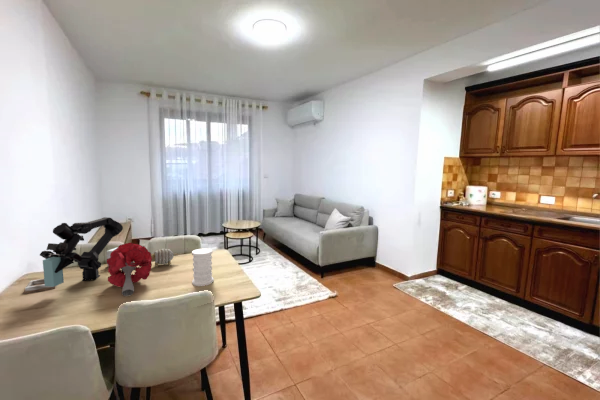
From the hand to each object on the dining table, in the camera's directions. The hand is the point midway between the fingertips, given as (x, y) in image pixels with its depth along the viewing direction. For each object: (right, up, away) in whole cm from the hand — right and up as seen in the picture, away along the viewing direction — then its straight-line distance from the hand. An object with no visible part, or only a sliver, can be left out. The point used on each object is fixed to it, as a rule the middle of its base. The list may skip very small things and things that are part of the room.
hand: (50, 272), depth 135 cm
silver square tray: (-15, -11, +12) cm, 22 cm away
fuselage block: (0, -6, +2) cm, 7 cm away
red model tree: (+29, -12, +14) cm, 35 cm away
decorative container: (+67, -11, +22) cm, 71 cm away
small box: (+1, -7, +46) cm, 47 cm away
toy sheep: (+32, -8, +47) cm, 58 cm away
